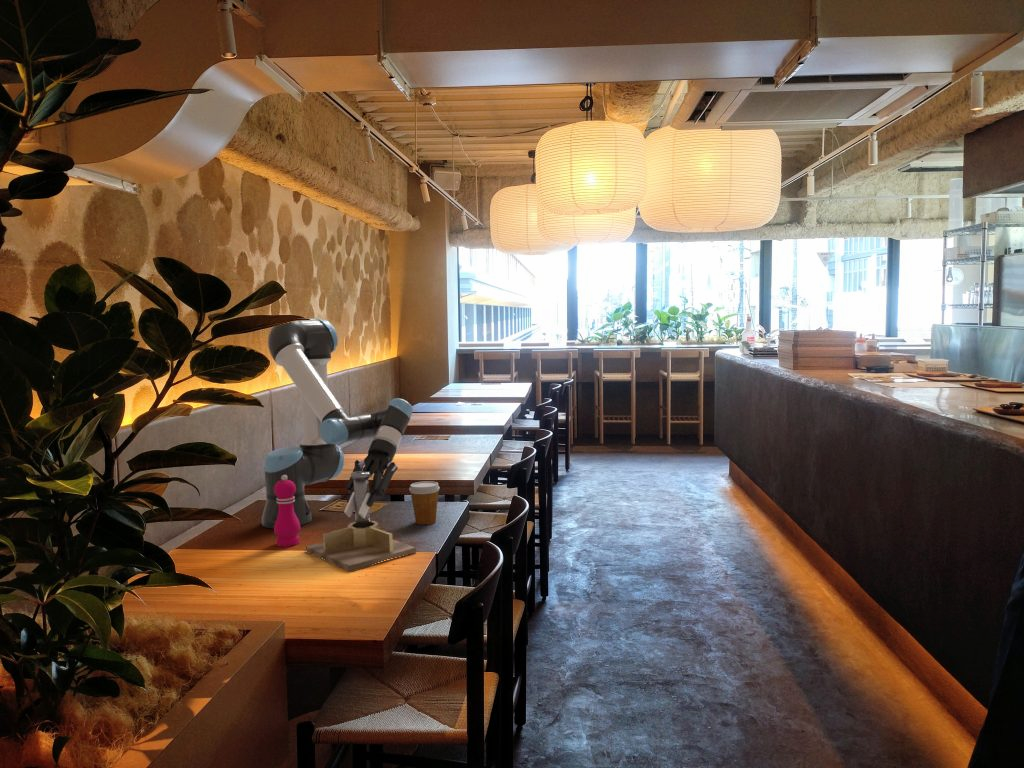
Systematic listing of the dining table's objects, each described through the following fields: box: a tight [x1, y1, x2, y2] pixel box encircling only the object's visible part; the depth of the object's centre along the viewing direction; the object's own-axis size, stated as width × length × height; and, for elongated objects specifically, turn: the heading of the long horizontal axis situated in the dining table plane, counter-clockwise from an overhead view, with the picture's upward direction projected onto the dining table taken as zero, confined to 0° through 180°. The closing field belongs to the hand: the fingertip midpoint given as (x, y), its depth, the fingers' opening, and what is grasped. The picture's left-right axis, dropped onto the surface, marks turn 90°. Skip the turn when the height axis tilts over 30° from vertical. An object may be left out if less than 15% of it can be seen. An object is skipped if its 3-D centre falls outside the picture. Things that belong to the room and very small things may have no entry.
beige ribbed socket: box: [322, 520, 394, 553], centre depth 192 cm, size 18×16×5 cm
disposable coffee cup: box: [409, 481, 441, 526], centre depth 223 cm, size 10×10×12 cm
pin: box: [350, 470, 371, 528], centre depth 198 cm, size 5×5×18 cm
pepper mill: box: [273, 475, 301, 548], centre depth 204 cm, size 7×7×20 cm
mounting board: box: [305, 539, 417, 572], centre depth 195 cm, size 24×20×2 cm
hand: (354, 515), depth 195 cm, fingers closed on pin, 4 cm apart
